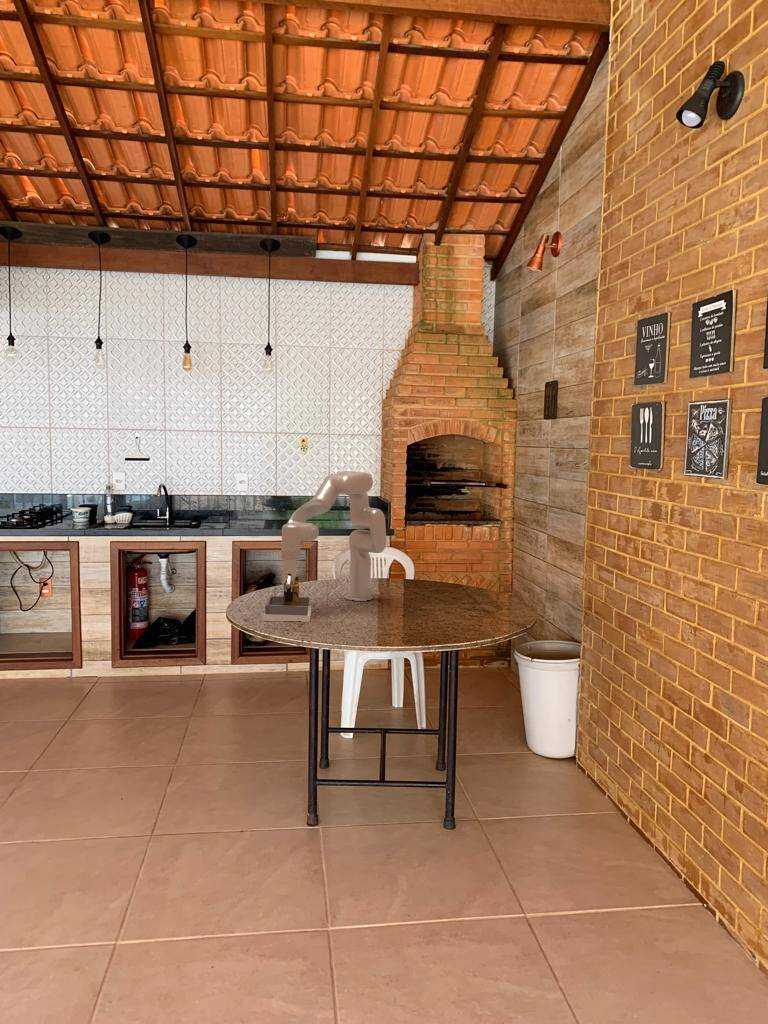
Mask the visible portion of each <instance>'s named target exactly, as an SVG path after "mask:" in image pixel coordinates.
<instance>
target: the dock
mask: <svg viewBox="0 0 768 1024" xmlns="http://www.w3.org/2000/svg"><path fill="white" fill-rule="evenodd" d="M283 602H284V595H283V596H282V595H268V597H267V599H266V603H265V604H264V611H263V612H264V613H263V617H262V621H263V622H284V621H301V622H300V623H310V622H311V617H310V616H311V615H312V605H310V596H309V597H308V596H299V603H298V606H286V605H281V604H283Z"/></svg>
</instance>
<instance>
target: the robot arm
mask: <svg viewBox="0 0 768 1024" xmlns="http://www.w3.org/2000/svg"><path fill="white" fill-rule="evenodd" d="M373 484H374V479H373V477H372V475H371V474H369V473H368V472H361V471H360V472H359V471H351V470H344V471H343V470H342V471H339V472H337V473H330V474H328V475H327V476H326V477H325V478H324V479H323V481H322V482H321V484H320V486H319V488H318V489H317V491H316V493H315V494H314V496H313V498H312V499H310V500H309V501H307V502H305V504H302V506H299V508H296V510H295V511H294V512H293V513H292V515H291V516H290V518H289V519H288V521H287V523H285V524H283V525H282V527H281V545H280V546H281V550H280V551H281V552H280V553H281V554H280V560H283V561H282V577H281V578H282V579H281V584H282V585H284V584H285V582H286V587H285V599H284V601H287V602H292V601H293V591H292V587H293V584H294V583H295V578H296V577H297V568H298V567H297V565H298V563H297V562H298V561H299V560H300V559H301V543H302V542H307V543H308V542H309V543H310V542H313V541H315V540H317V539H318V537H319V534H320V531H319V528H318V527H317V525H315V524H313V523H310V522H307V521H308V520H309V519H311V518H313V517H315V516H318V515H323V514H325V513H328V512H329V511H330V510H331V509H332V507H333V505H334V503H335V501H336V500H337V498H338V497H339V496H340V495H341V496H342V495H345V496H347V497H348V501H349V510H350V522H351V525H353V527H355V528H360V529H355V530H352V532H351V533H350V534H349V537H348V544H349V555H350V556H349V557H350V558H349V560H350V561H349V576H348V577H349V581H348V593H347V594H345V595H344V598H345V599H346V600H348V601H352V600H354V602H368V601H367V600H370V601H372V600H373V598H374V597H373V596H375V597H376V596H378V597H379V596H380V594H381V592H380V591H377V590H371V571H372V559H371V556H370V553H373V554H380V553H382V552H384V551H385V549H386V546H387V528H386V517H385V514H384V512H383V511H382V510H381V509H380V508H376V507H375V508H374V507H370V503H369V502H370V501H369V495H368V492H369V491H371V489H372V487H373ZM366 529H367V530H366ZM290 582H291V583H292V584H290ZM371 599H372V600H371Z"/></svg>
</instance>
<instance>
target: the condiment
mask: <svg viewBox="0 0 768 1024" xmlns="http://www.w3.org/2000/svg"><path fill="white" fill-rule="evenodd" d="M290 584H292V583H291V582H290ZM285 587H286V582H285V583H284V584H283V596H284V599H285ZM292 591H293V601H292V602H287V601H284V602H283V604H281V605H286V606H298V603H299V597H300V583H299V577H298V576H296V578H295V583H294V584H293V587H292Z"/></svg>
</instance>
